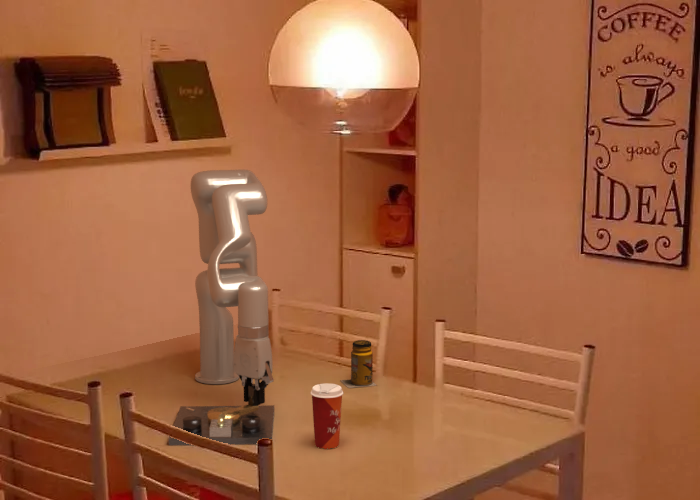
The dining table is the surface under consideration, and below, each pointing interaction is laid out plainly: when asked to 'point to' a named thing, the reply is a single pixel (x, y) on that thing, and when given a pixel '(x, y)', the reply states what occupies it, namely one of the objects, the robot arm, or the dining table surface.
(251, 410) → the crank dial
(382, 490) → the dining table surface
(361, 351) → the condiment
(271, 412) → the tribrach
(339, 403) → the paper cup
